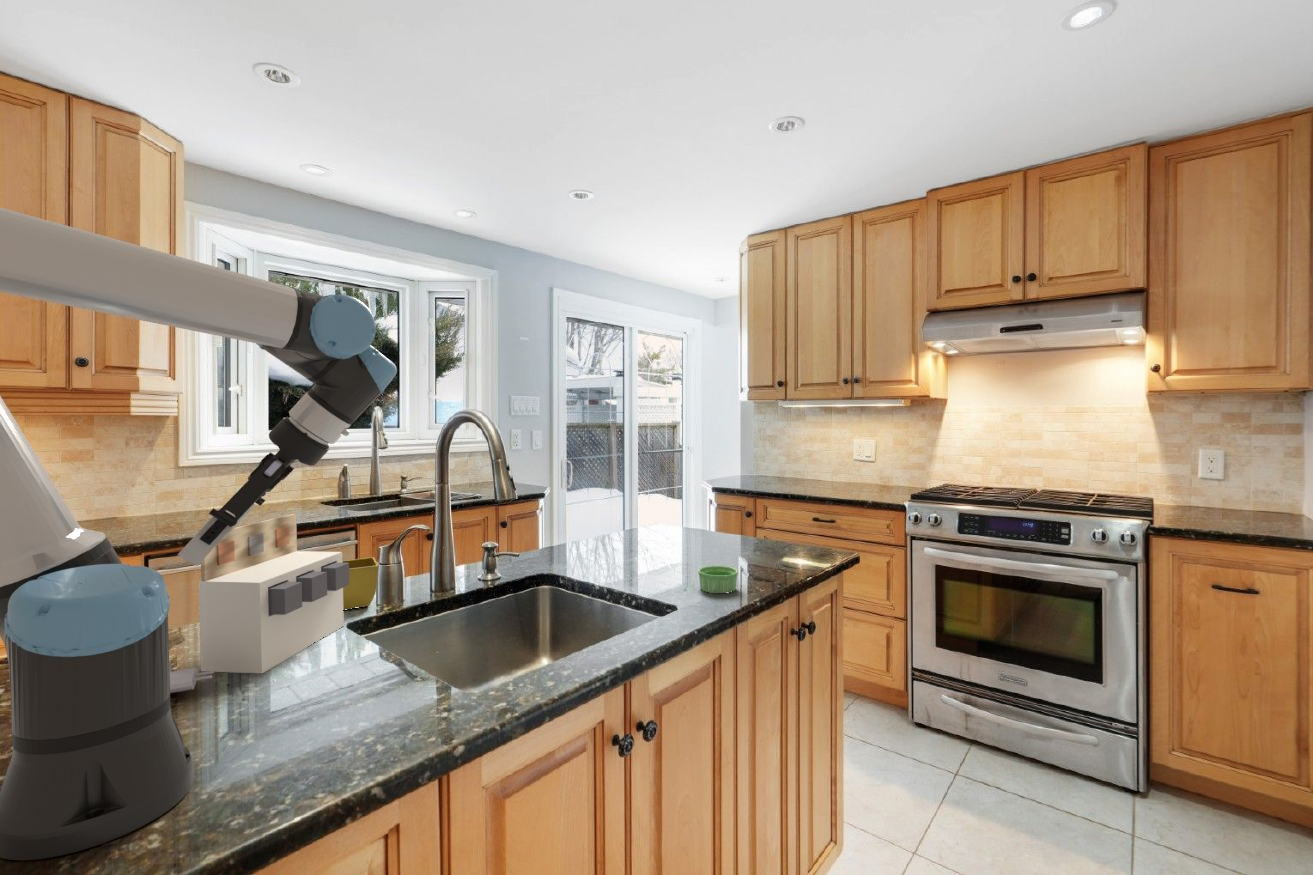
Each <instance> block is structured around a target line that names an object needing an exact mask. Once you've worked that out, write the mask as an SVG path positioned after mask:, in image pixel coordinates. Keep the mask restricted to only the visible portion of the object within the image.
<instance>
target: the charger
mask: <svg viewBox="0 0 1313 875" xmlns="http://www.w3.org/2000/svg"><path fill="white" fill-rule="evenodd" d="M198 671H199V669H198V668H197V667H192V668H184V669H179V670H173V671H172V661H170V660H169V672H170V694H173V693H180V692H185V691H186V692H187V691H190V690H194V689H195V686H196V684H197V682H198V681H202V680H209V679H212V678H213V675H212V674H214V673H215V672H214V671H208V672H207V671H201V672H198Z"/></svg>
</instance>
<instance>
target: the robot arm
mask: <svg viewBox="0 0 1313 875" xmlns="http://www.w3.org/2000/svg"><path fill="white" fill-rule="evenodd" d="M0 293H2V294H7V295H12V296H18V297H22V298H28V299H32V300H37V301H41V302H46V303H47V302H48V303H52V304H57V305H63V306H67V307H73V308H76V309H77V308H78V309H83V310H88V311H92V312H93V311H94V312H97V313H103V314H107V315H111V316H112V315H113V316H117V317H123V318H127V319H132V320H133V319H134V320H138V321H142V322H149V323H153V324H157V325H162V326H163V325H164V326H169V327H171V328H177V329H183V330H188V331H193V332H197V333H198V332H199V333H202V334H203V333H204V334H208V335H213V336H219V337H223V338H227V339H233V340H238V341H243V342H248V343H252V344H256V345H257V346H259V348H260V349H261V350H263V351H265V352H267V353H269V354H270V355H272V356H273V357H274V358H276V359H277V360H279V361H280V362H282V363H283V364H285V365H286V366H288V368H291V369H292V371H295V372H296V373H298V374H299V375H301V376H302V377H304V378H305V379H306V380H308V381H309V382H311V383H313V385H312V387H311V388H310V389H309V390H308V391H307V392H306V393H304V394H303V396H302V397H301V398H300V399H299V400H298V401H297V403H296V404H295V405H294V406H292V408H291V409H290V410H289V411H288V413H289V417H288V416H286V417H283V418H282V419H280V421H279V422H278V423H277V424H276V425H275V426H274V427H273V428H272V430H270V431H269V433H268V439H269V440H270V441H271V443H272V444H273V445H275V446H276V447H278V449H279V450H278V451H277V452H276V453H275V454H274V452H272V451H270V452H269V453H268V454H266V455H265V456H264V457H263V458H262V459H261V461H259V463H258V465H257V467H256V468H254V470H253V471H252V472H251V473H250V474H249V475H248V477H247V481H246V482H245V483H244V484H243V485H242V486H241V487H240V488H239V489H238V490H237V491H236V493H235V494H234V495H232V497H231V498H229V500H227V502H226V503H225V504H224V505H222V507H220V509H215V508H212V509H211V510H210V511H209V512H208V515H210V516H212V517H211V518H210V519H209V520H208V521H207V522H206V524H204V525H203V527H201V529H200V530H199V531H198V532H197V533H196V534H195V535H194V537H192V538H191V540H189V542H188V543H187V544H185V546H184V547H183V548H182V549H181V550H180V551H179V553H177V556H178V557H180V558H182V559H184V560H186V561H188V562H189V563H191V564H192V565H194V566H195V567H198V566H199V565H201V562H202V560H203V559H204V558H205V557H206V556H207V555H208V554H209V553H210V552H211V551H212V550H213V549H214V547H215V546H216V545H217V544H218V543H219V542H220V541H221V540H222V539H225V538H226V537H227V536H228V534H229V533H230V532H231V531H232V530H233V529H234V528H236V527H237V526H238V525H239V524H240V523H241V522H242V521H243V519H244V518H245V517H247V516H248V514H249V513H250V512H251V511H252V510H253V508H254V507H255V506H256V505H257V506H259V507H260V506H262V505H263V504H264V503H265V502H266V499H264V498H263V497H265V496H266V495H267V493H270V492H271V491H272V490H273V489H274V488H276V486H277V485H279V483H280V482H282V481H285V479H286V478H287V477H288V476H289V475H291V473H292V472H293V470H295V467H294V466H292V465H293V463H295V462H296V461H298V462H300V463H301V464H303V465H306V466H309V467H312V466H315V465H316V464H318V463H319V461H321V459H322V458H323V457H325V455H326V454H327V453H328V451H330V445H334V444H335V443H336V442H337V441H338V440H339V439H340V438H341V436H342V435H343V436H345V437H348V436H349V435H350V433H351V432H350V430H348V428H350V427H351V426H352V425H353V424H354V423H355V421H356V420H357V419H358V418H359V417H360V416H361V415H362V414H363V413H364V412H365V411H366V410H367V409H368V407H369V406H371V404H372V403H373V402H374V401H375V400H376V399H377V398H378V397H379V396H380V395H382V394H383V393H384V391H385V389H386V388H387V387H388V386H389V384H390V383H391V382H392V381H393V379H394V378H395V377H396V375H397V372H398V369H397V368H398V367H397V366H396V363H394V362H393V361H392V360H390V359H389V358H387V357H386V355H384V354H382V353H381V352H380V351H379V350H378V349H376V348H375V347H374V346H372V343H373V341H374V339H375V337H376V327H377V326H376V320H375V318H374V315H373V313H372V311H371V310H370V308H369V307H368V306H367V305H366V304H365V303H364V302H363V301H361V300H360V299H358V298H356V297H354V296H352V295H347V294H337V293H336V294H329V295H320V294H317V293H313V292H310V291H307V290H303V289H297V288H294V287H290V286H287V285H283V284H280V283H277V282H274V281H269V280H265V279H262V278H258V277H254V276H251V275H247V274H243V273H239V272H236V271H234V270H229V269H226V268H222V267H218V266H215V265H211V264H207V263H204V262H200V261H197V260H193V259H189V258H185V257H182V256H178V255H175V254H171V253H167V252H163V251H160V250H156V249H153V248H149V247H146V246H141V245H139V244H134V243H131V242H128V241H124V240H120V239H116V238H113V237H110V236H105V235H102V234H98V233H95V232H91V231H87V230H83V229H80V228H77V227H74V226H69V225H65V224H63V223H58V222H55V221H51V220H47V219H44V218H43V219H42V218H41V217H38V216H37V217H36V216H33V215H29V214H27V213H26V214H25V213H22V212H18V211H15V210H11V209H7V208H4V207H1V206H0ZM329 444H330V445H329ZM170 601H171V600H170V595H169V593H168V591H167V584H166V580H165V578H164V577H163V575H162V574H161V573H160V572H159V571H157V570H155V569H154V568H150V567H147V566H145V565H131V564H129V563H123V561H122V560H121V559H120V557H119V555H118V554H117V552H116V551H115V549H114V547H113V545H112V544H111V542H110V541H109V539H108V538H107V536H106V533H104V532H102V531H97V530H92V529H89V528H85V527H82V526H80V524H79V523H78V520H77V519H76V517H75V516H74V514H73V512H72V511H71V510H70V508H69V506H68V504H67V502H66V501H65V499H64V497H63V496H62V494H61V493H60V491H59V490H58V488H57V486H56V485H55V483H54V481H53V479H52V478H51V477H50V475H49V473H48V472H47V470H46V468H45V467H44V465H43V463H42V461H41V460H40V459H39V457H38V454H36V451H34V448H33V447H32V446H31V444H30V441H28V438H26V436H25V434H24V432H23V430H22V429H21V427H20V426H19V424H18V422H17V420H16V419H15V417H14V416H13V414H12V413H11V411H10V409H9V408H8V406H7V405H6V403H5V401H4V399H3V398H2V396H1V395H0V639H1V641H2V642H3V643H4V646H5V652H6V657H7V662H8V663H7V664H8V674H9V688H10V689H9V691H10V692H9V694H10V716H11V737H12V738H11V739H12V740H11V741H12V755H11V759H10V762H9V765H8V767H7V771H6V773H5V776H4V779H3V782H2V785H1V787H0V858H1V859H4V860H13V861H33V860H43V859H49V858H55V857H59V856H65V855H68V854H69V855H70V854H73V853H76V852H81V851H83V850H88V849H91V848H93V847H96V846H99V845H103V844H104V843H108V842H110V841H112V840H115V839H118V838H121V837H123V836H125V835H127V834H130V833H132V832H133V831H136V830H138V829H140V828H142V827H143V826H145V825H147V824H149V823H150V822H152V821H154V820H157V818H160V817H161V816H162V815H164V814H165V813H167V812H168V811H170V810H171V809H172V808H174V807H175V806H176V805H177V804H178V803H180V802H181V801H182V799H183V798H184V797H186V795H187V794H188V793H189V791H190V790H191V788H192V786H193V784H194V781H195V780H194V778H195V777H194V775H195V774H194V759H193V755H192V753H191V751H190V750H189V749H188V748H187V747H186V745H185V742H184V739H183V736H182V734H181V731H180V729H179V727H178V725H177V723H176V721H175V719H174V717H173V715H172V707H171V693H170V672H169V661H170V640H169V611H170V606H171V605H170V604H171V602H170ZM54 856H55V857H54Z"/></svg>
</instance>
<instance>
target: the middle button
mask: <svg viewBox="0 0 1313 875" xmlns="http://www.w3.org/2000/svg"><path fill="white" fill-rule="evenodd" d="M296 582H302V602H313V601H315V600H318V599H320V598H322V597H324V596H326V595H327V572H307V573H304V574H302V575H299V576H296Z"/></svg>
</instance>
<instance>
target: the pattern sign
mask: <svg viewBox="0 0 1313 875" xmlns="http://www.w3.org/2000/svg"><path fill="white" fill-rule="evenodd" d="M297 529H298V528H297V514H296V513H291V514H286V515H284V516H283V515H282V516H279V517H275V518H270V519H267V520H262V521H257V522H253V523H250V524H245V525H240V526H238V527H237V526H236V527H235V528H234V529H233V530H232V531H231V532H230V533H229V534H228V536H227V537H226V538H225V539H222V540H221V541H220V542H219V543H218V544H217V545H216V546H215V547H214V549H213V550H212V551H211V552H210V553H209V554H208V555H207V556H206V557H205V558H204V559H203V560H202V562H201V563H200V570H201V571H200V573H201V574H200V578H201V580H200V581H208V580H211V579H214V578H217V577H220V576H223V575H226V574H229V573H232V572H235V571H238V570H241V569H244V568H247V567H250V566H253V565H256V564H260V563H263V562H266V561H269V560H272V559H275V558H278V557H281V556H284V555H287V554H290V553H293V552H296V551H298V543H297V541H298V536H297V535H298V534H297V533H298V532H297V531H298V530H297Z"/></svg>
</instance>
